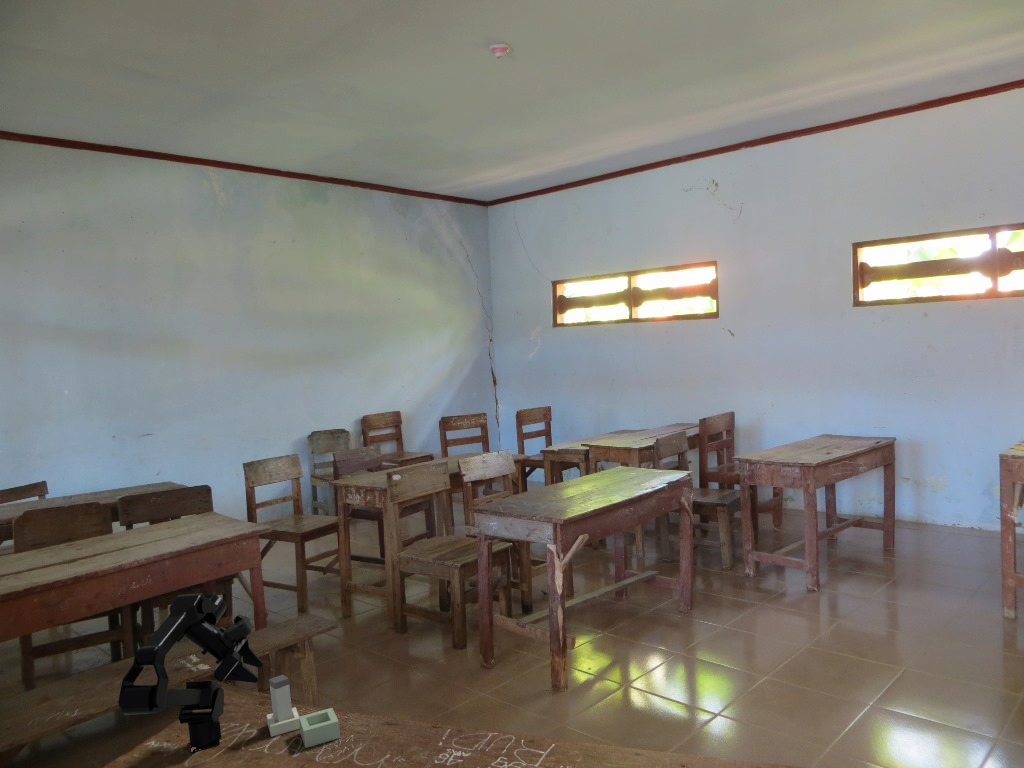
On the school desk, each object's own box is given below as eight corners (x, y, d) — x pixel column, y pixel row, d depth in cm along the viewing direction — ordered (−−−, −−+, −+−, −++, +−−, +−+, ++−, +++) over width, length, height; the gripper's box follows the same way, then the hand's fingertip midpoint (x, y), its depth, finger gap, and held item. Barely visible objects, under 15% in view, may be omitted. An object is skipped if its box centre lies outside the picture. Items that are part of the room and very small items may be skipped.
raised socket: (305, 748, 170) (303, 731, 170) (300, 733, 178) (298, 717, 177) (340, 737, 174) (338, 721, 174) (333, 723, 181) (332, 707, 181)
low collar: (270, 736, 177) (269, 726, 177) (267, 724, 184) (266, 714, 184) (300, 728, 180) (299, 718, 180) (296, 716, 186) (295, 707, 186)
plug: (279, 731, 179) (274, 683, 179) (274, 727, 182) (269, 679, 182) (293, 726, 182) (288, 678, 181) (287, 721, 184) (282, 674, 184)
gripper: (223, 623, 171) (278, 661, 174) (235, 598, 189) (284, 633, 192) (190, 662, 169) (246, 700, 172) (205, 633, 188) (256, 668, 191)
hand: (259, 673), depth 182 cm, fingers open, 9 cm apart
